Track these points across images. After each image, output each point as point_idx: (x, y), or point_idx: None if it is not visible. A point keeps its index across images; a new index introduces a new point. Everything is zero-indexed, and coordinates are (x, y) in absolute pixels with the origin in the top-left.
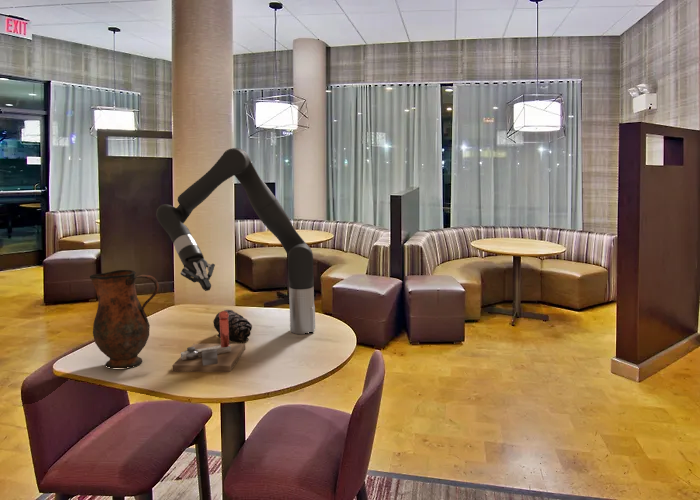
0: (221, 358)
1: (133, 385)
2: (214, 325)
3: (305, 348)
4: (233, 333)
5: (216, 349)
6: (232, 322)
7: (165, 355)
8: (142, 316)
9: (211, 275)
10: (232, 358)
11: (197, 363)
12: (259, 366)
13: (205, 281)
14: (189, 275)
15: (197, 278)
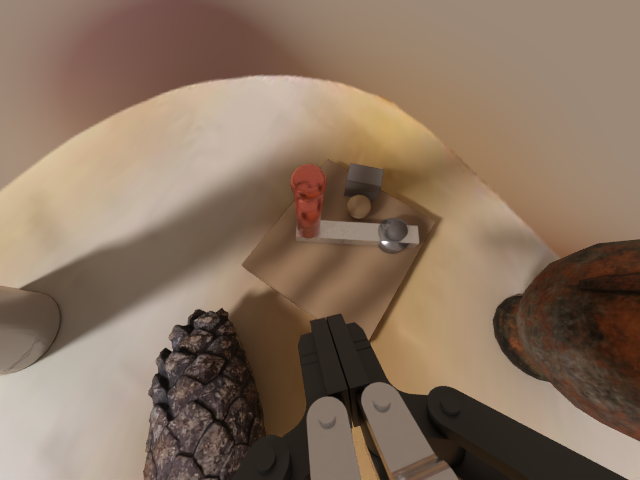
0: (330, 202)
1: (501, 201)
2: None
3: (128, 198)
4: (237, 344)
5: (334, 222)
6: (220, 365)
7: (436, 343)
8: (622, 274)
9: (256, 442)
10: None
11: (384, 202)
12: (268, 162)
13: (346, 359)
14: (548, 452)
15: (431, 395)
